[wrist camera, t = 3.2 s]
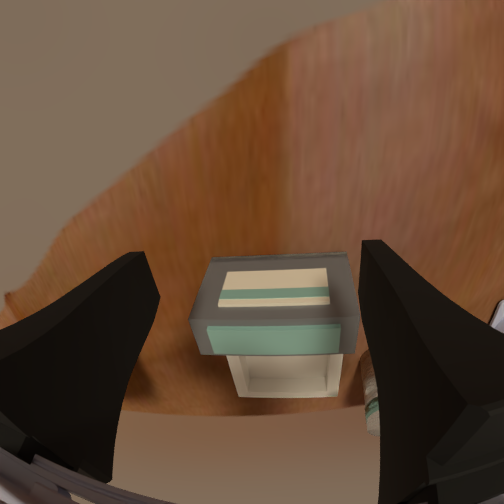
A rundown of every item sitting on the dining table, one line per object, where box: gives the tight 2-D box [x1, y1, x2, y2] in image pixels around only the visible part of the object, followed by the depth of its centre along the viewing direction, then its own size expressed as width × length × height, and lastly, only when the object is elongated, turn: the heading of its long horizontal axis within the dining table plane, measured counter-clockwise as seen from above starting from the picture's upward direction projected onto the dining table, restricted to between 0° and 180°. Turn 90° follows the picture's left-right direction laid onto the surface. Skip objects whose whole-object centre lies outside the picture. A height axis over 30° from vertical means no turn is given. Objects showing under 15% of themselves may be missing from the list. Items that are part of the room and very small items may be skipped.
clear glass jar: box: [360, 349, 380, 436], centre depth 23 cm, size 4×4×7 cm
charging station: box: [188, 252, 360, 398], centre depth 22 cm, size 9×14×6 cm, turn 7°
